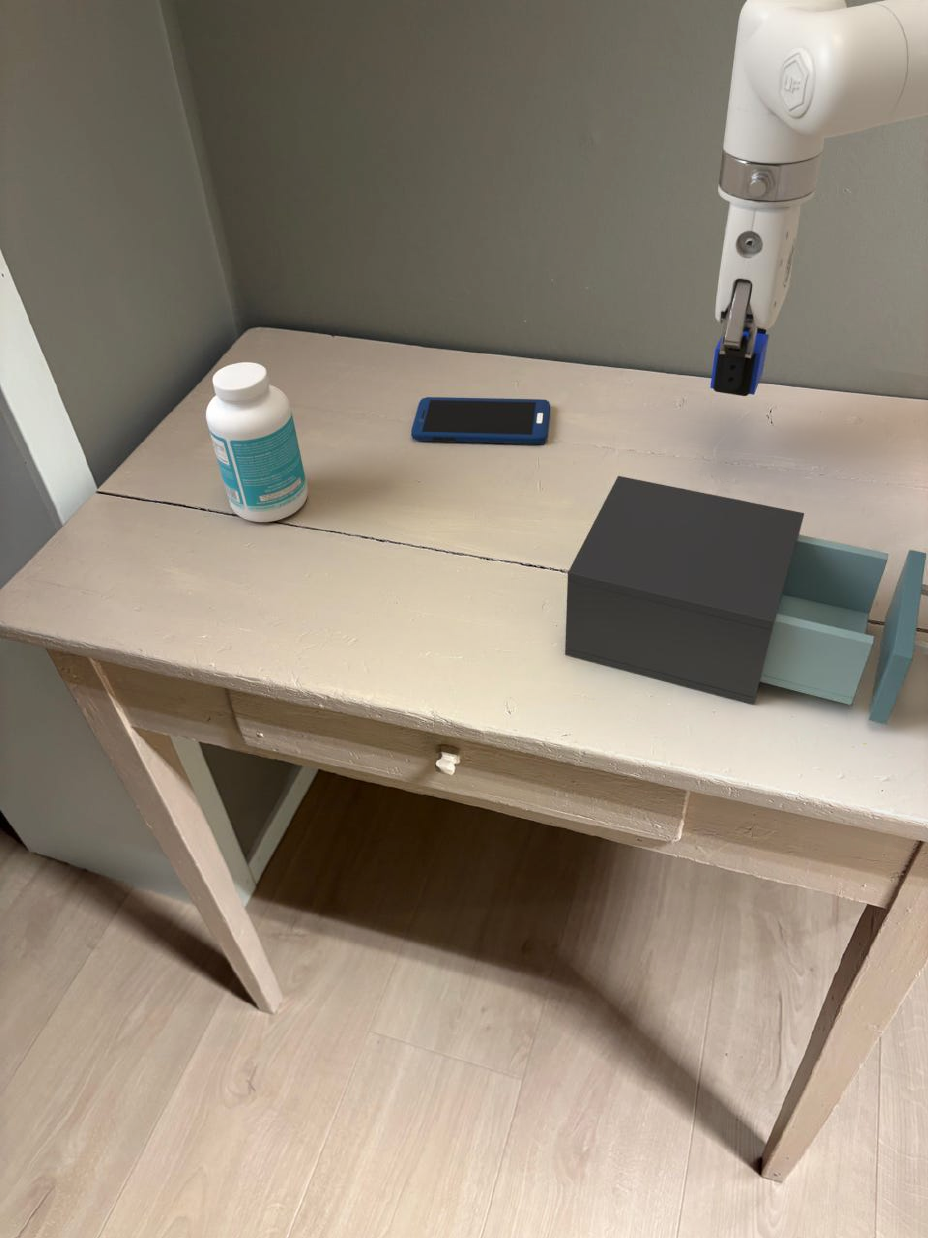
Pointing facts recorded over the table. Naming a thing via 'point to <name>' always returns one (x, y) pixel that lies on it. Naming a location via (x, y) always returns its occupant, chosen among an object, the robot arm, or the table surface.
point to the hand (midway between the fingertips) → (736, 377)
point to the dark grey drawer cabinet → (680, 586)
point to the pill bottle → (256, 444)
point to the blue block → (760, 352)
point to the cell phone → (482, 420)
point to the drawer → (843, 624)
